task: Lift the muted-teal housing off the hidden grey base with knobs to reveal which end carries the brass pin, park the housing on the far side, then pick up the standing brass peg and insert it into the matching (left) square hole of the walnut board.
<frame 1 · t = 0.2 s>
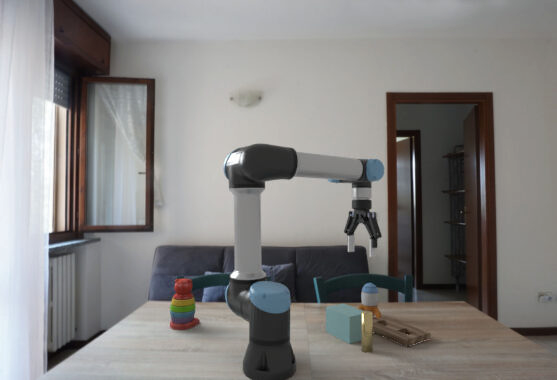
hand: (361, 254, 138), 27 cm above the table, fingers open, 13 cm apart
toy rocket: (366, 318, 146), on the table
grey base with knobs: (346, 335, 127), on the table
board: (395, 334, 128), on the table
stacking bear: (183, 326, 136), on the table
housing: (346, 335, 127), on the table
peg: (366, 350, 114), on the table
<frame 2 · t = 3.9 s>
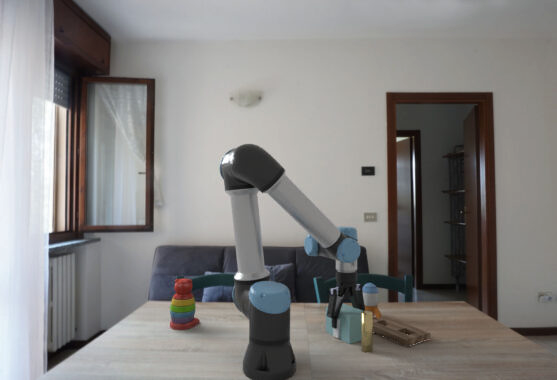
hand: (346, 334, 127), 0 cm above the table, fingers closed on housing, 9 cm apart
housing: (346, 335, 127), on the table, touching gripper
everything else where it was.
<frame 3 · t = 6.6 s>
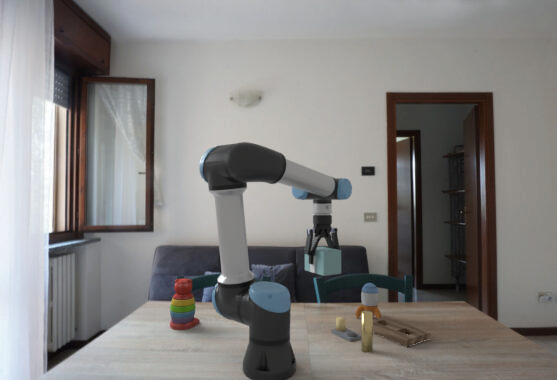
hand: (322, 271, 143), 20 cm above the table, fingers closed on housing, 9 cm apart
housing: (322, 271, 143), point 19 cm above the table, touching gripper
everything else where it was.
when the fingers open (1 cm above the table, at t = 9.2 s): housing drops 1 cm, on the table.
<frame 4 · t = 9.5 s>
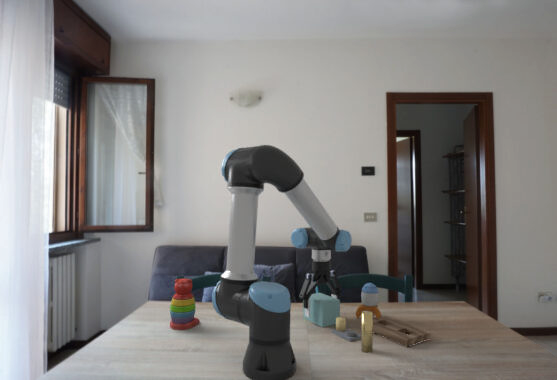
hand: (321, 313, 143), 3 cm above the table, fingers open, 13 cm apart
housing: (321, 320, 142), on the table
everything else where it was.
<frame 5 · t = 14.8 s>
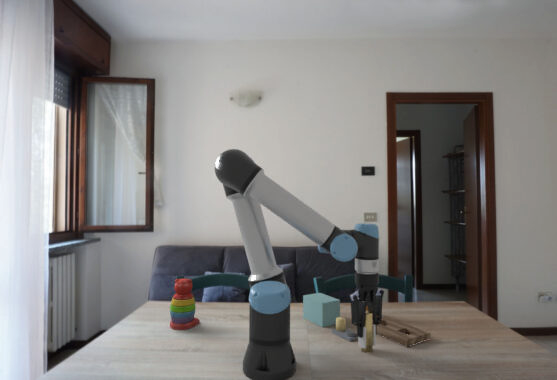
hand: (366, 345, 114), 2 cm above the table, fingers closed on peg, 3 cm apart
peg: (366, 350, 114), on the table, touching gripper
everything else where it was.
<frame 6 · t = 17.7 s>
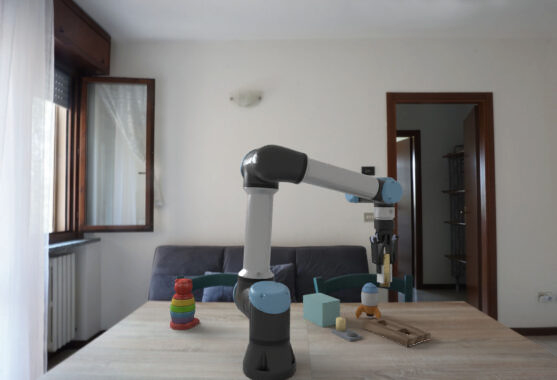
hand: (384, 281, 133), 18 cm above the table, fingers closed on peg, 3 cm apart
peg: (384, 285, 133), point 16 cm above the table, touching gripper
everything else where it was.
when the fingers open (3 cm above the table, at t = 21.0 s): peg drops 2 cm, resting in board.
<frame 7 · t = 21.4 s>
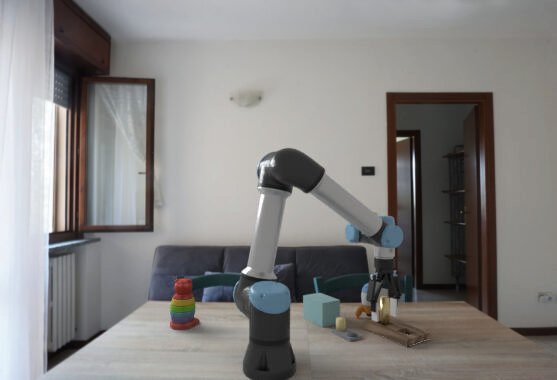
hand: (384, 318, 133), 4 cm above the table, fingers open, 9 cm apart
peg: (384, 329, 132), resting in board
everything else where it was.
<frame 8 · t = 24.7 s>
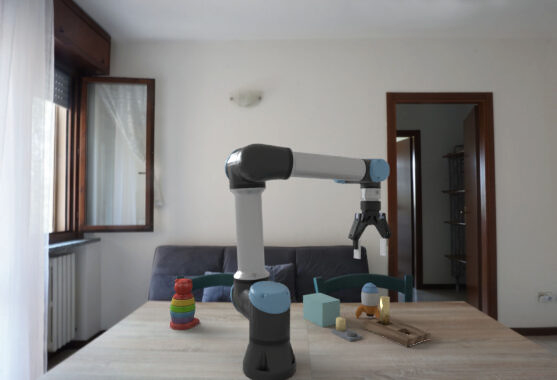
hand: (370, 257, 134), 27 cm above the table, fingers open, 13 cm apart
nothing on the table moved.
at the end: peg 0.1 cm from the target spot on the board, point 0.0 cm above the board's base; peg tilted 0°; housing moved 17.1 cm from its start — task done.
